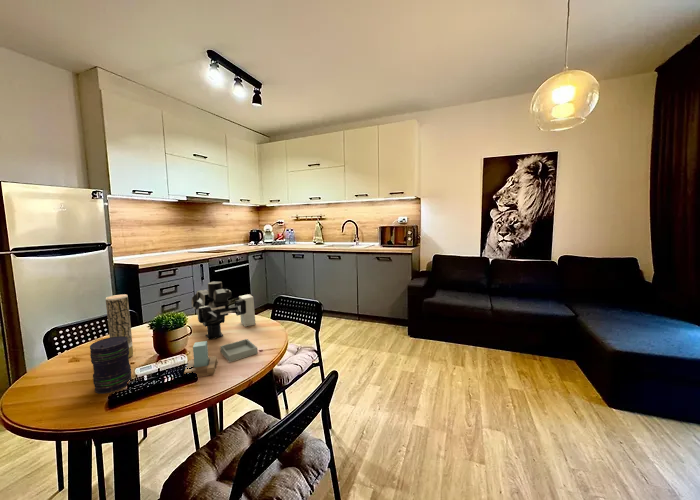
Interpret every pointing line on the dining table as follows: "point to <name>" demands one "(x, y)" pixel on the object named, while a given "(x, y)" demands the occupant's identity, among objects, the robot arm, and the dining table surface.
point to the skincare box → (248, 311)
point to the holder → (205, 369)
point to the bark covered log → (119, 318)
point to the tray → (238, 350)
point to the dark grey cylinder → (110, 364)
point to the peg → (200, 354)
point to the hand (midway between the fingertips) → (229, 315)
